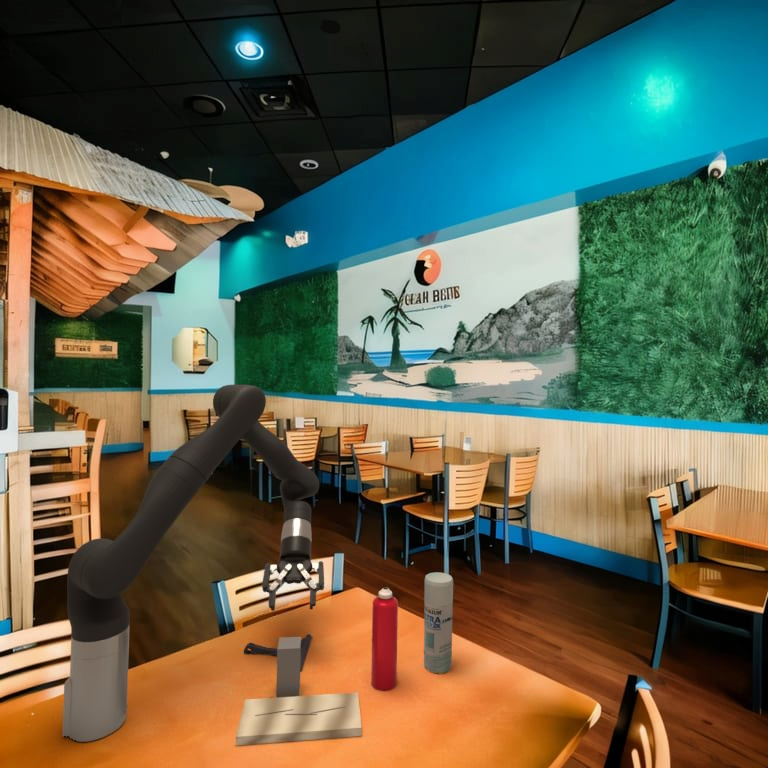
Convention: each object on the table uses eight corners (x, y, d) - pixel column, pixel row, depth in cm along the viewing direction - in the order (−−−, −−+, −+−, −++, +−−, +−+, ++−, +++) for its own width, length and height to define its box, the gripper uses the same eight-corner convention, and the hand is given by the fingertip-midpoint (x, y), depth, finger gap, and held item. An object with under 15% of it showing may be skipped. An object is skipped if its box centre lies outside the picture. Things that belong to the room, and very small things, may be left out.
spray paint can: (417, 664, 107) (418, 576, 107) (437, 654, 111) (438, 569, 111) (438, 678, 102) (439, 585, 102) (457, 667, 106) (459, 578, 106)
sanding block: (275, 700, 93) (277, 649, 94) (278, 685, 98) (279, 637, 98) (299, 698, 94) (300, 648, 94) (300, 684, 99) (301, 636, 99)
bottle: (389, 694, 96) (390, 595, 96) (366, 685, 98) (368, 590, 99) (401, 680, 101) (402, 586, 101) (379, 672, 103) (380, 581, 104)
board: (235, 745, 81) (235, 736, 81) (245, 707, 91) (245, 699, 91) (361, 736, 84) (361, 727, 84) (357, 699, 94) (357, 692, 94)
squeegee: (252, 639, 117) (253, 628, 117) (311, 640, 117) (312, 629, 117) (234, 674, 103) (234, 661, 103) (301, 675, 103) (301, 662, 103)
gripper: (266, 534, 113) (258, 603, 102) (325, 533, 115) (324, 600, 103) (268, 549, 118) (261, 616, 107) (324, 548, 120) (323, 613, 109)
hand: (292, 608), depth 105 cm, fingers open, 8 cm apart
